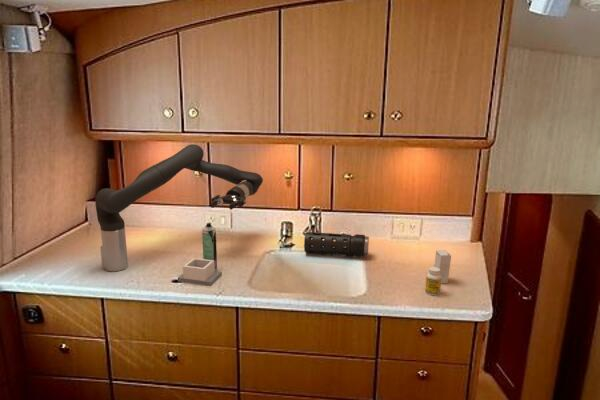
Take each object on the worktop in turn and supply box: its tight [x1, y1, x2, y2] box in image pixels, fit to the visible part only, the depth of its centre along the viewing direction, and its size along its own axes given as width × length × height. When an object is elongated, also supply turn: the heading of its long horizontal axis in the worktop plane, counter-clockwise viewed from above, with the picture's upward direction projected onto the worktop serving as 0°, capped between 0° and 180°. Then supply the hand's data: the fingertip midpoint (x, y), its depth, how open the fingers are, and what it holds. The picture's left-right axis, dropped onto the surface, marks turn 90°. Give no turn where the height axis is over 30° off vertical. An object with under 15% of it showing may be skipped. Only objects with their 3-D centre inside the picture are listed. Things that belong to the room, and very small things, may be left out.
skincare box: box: [433, 249, 452, 284], centre depth 194 cm, size 6×4×12 cm
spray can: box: [201, 222, 218, 271], centre depth 201 cm, size 6×6×20 cm
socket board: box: [177, 257, 223, 287], centre depth 194 cm, size 14×10×6 cm
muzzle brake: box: [303, 231, 370, 258], centre depth 219 cm, size 10×28×10 cm, turn 81°
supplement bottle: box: [424, 266, 442, 296], centre depth 184 cm, size 5×5×10 cm
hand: (221, 206), depth 205 cm, fingers open, 8 cm apart
